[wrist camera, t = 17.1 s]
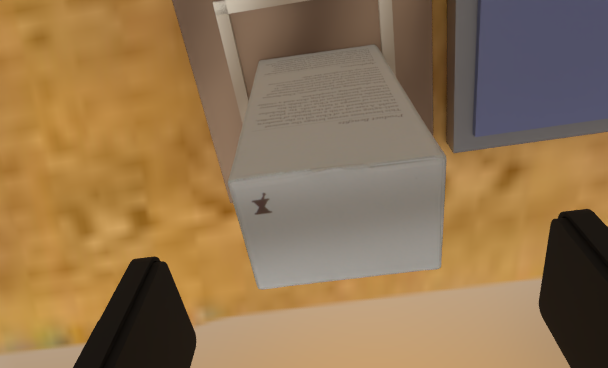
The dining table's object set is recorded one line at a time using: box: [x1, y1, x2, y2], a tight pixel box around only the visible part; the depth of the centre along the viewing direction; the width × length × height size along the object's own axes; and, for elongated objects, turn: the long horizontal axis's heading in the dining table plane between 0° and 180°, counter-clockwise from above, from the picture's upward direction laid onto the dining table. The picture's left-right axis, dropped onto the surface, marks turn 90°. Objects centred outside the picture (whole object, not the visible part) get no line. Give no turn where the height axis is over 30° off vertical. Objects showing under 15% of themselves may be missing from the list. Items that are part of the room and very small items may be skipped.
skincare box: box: [228, 45, 446, 289], centre depth 18 cm, size 6×4×12 cm
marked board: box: [172, 0, 433, 203], centre depth 23 cm, size 12×12×1 cm
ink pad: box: [446, 0, 608, 153], centre depth 22 cm, size 10×9×2 cm
